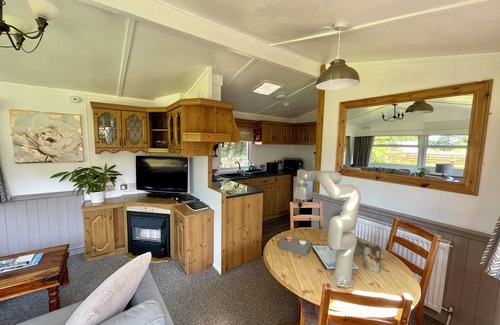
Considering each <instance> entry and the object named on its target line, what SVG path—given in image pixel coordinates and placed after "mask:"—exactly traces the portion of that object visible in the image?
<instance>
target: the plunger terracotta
mask: <svg viewBox="0 0 500 325" xmlns="http://www.w3.org/2000/svg"><path fill="white" fill-rule="evenodd" d="M286 235H287V236H286V241H290V242H292V239H293V237H294V236H293V235H290V234H286ZM292 236H293V237H292Z"/></svg>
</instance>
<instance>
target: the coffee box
mask: <svg viewBox="0 0 500 325" xmlns="http://www.w3.org/2000/svg"><path fill="white" fill-rule="evenodd" d="M363 243H364V242H363ZM362 255H363V256H362V267H363V270H365V271H370V272H375V273H380V267H381V265H380V264H381V255H382V248H381V247H380V245H377V244H371V243H366V242H365V243H364V253H363V254H362Z"/></svg>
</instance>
